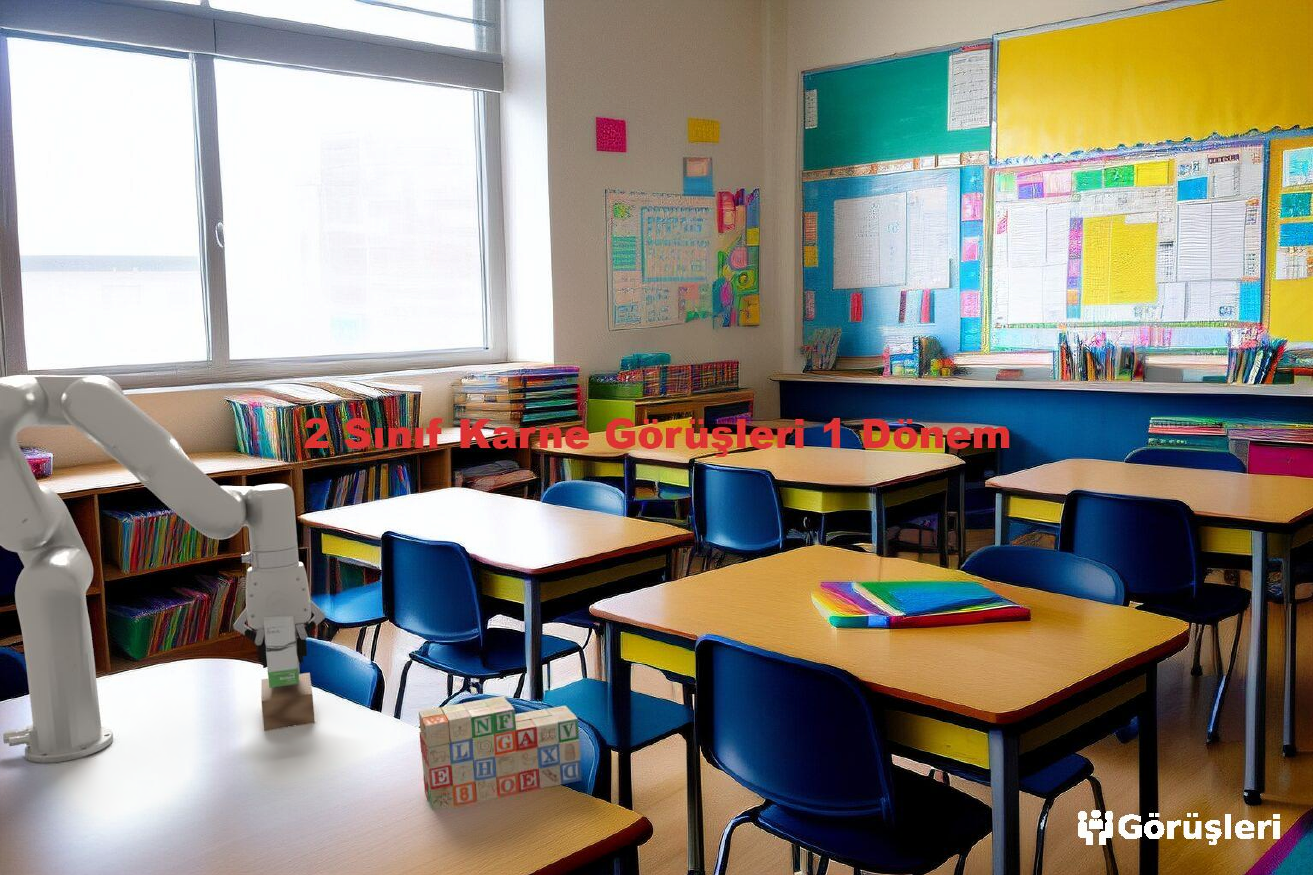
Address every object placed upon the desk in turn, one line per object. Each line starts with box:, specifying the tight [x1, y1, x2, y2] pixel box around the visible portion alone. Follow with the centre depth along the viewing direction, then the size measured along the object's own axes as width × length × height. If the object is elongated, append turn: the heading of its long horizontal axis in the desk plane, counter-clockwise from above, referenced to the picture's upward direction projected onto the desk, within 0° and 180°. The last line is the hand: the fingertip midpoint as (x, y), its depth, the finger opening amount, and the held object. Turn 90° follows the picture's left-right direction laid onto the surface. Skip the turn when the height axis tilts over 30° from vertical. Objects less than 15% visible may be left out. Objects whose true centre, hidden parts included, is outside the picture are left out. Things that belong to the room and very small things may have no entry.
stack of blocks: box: [418, 695, 582, 811], centre depth 157 cm, size 21×6×12 cm, turn 111°
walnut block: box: [260, 672, 316, 732], centre depth 190 cm, size 8×12×5 cm, turn 19°
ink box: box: [263, 615, 300, 688], centre depth 189 cm, size 9×5×12 cm, turn 17°
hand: (283, 662), depth 189 cm, fingers closed on ink box, 5 cm apart
